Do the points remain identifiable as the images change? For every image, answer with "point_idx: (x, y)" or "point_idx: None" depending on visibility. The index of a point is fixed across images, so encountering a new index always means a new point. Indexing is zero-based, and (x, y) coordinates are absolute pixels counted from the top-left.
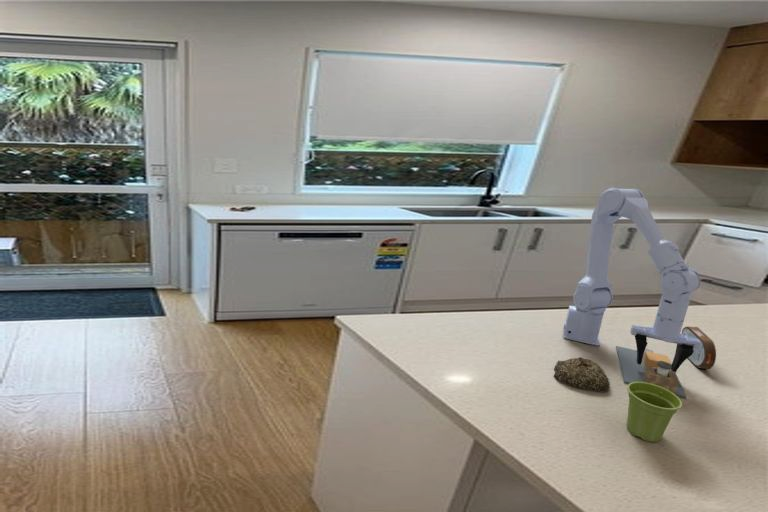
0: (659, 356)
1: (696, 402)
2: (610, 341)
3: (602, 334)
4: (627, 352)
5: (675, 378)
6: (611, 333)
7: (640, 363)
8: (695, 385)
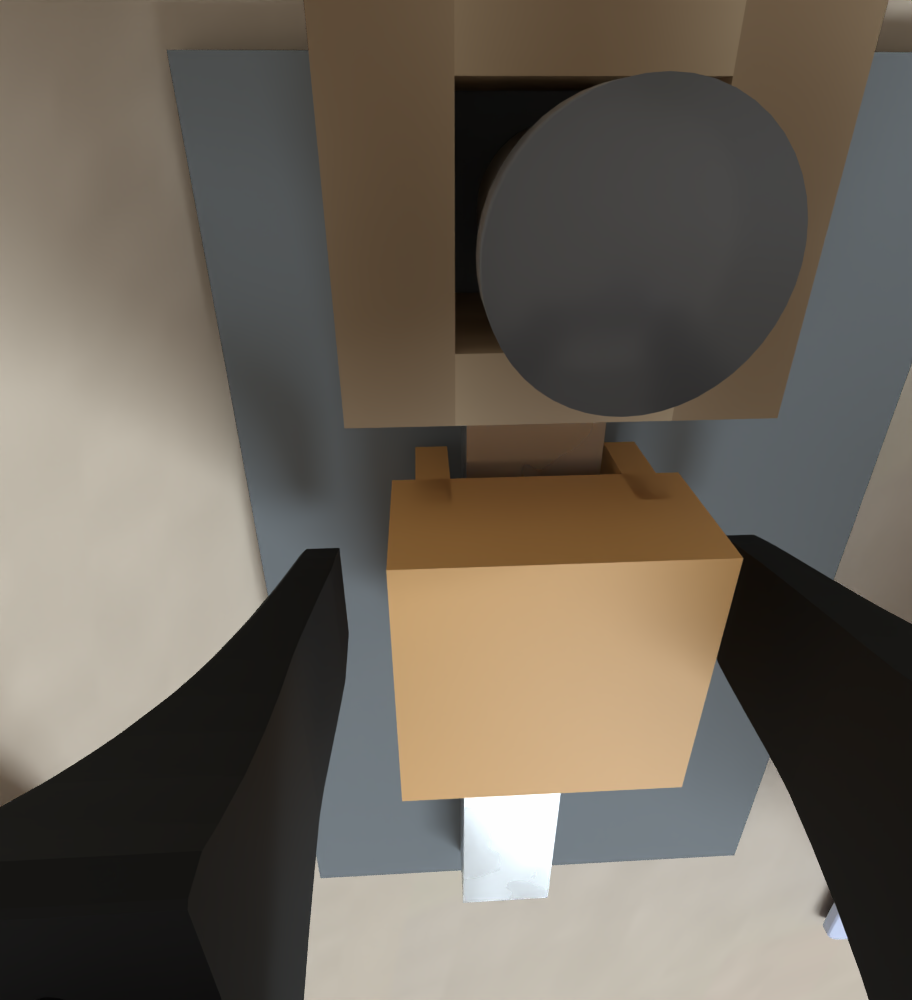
0: (522, 730)
1: (36, 15)
2: (737, 898)
3: (761, 955)
4: (671, 799)
5: (358, 103)
6: (682, 990)
7: (738, 541)
8: (87, 533)
